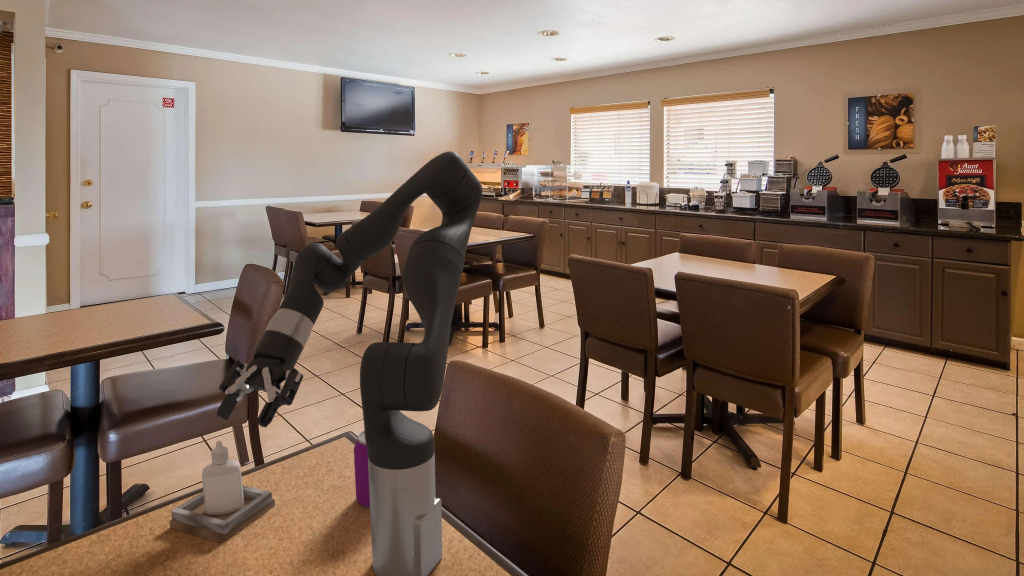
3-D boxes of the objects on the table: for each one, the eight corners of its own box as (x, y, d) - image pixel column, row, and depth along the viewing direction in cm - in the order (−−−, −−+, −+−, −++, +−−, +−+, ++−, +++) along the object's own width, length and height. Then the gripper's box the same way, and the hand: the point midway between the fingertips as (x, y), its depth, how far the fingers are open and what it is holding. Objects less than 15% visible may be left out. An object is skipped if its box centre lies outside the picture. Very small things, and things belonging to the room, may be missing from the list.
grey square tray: (274, 505, 97) (273, 490, 96) (222, 543, 87) (220, 527, 86) (225, 492, 100) (224, 478, 100) (170, 527, 90) (168, 512, 90)
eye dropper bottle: (234, 517, 91) (227, 449, 89) (201, 516, 91) (193, 447, 89) (248, 502, 95) (242, 436, 93) (216, 501, 96) (210, 435, 93)
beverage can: (386, 482, 104) (384, 421, 102) (409, 499, 99) (407, 435, 97) (348, 498, 99) (344, 434, 97) (370, 517, 94) (367, 450, 91)
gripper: (326, 353, 104) (286, 436, 96) (265, 345, 109) (222, 424, 101) (305, 332, 99) (261, 419, 90) (242, 324, 103) (194, 406, 95)
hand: (240, 421), depth 95 cm, fingers open, 8 cm apart
